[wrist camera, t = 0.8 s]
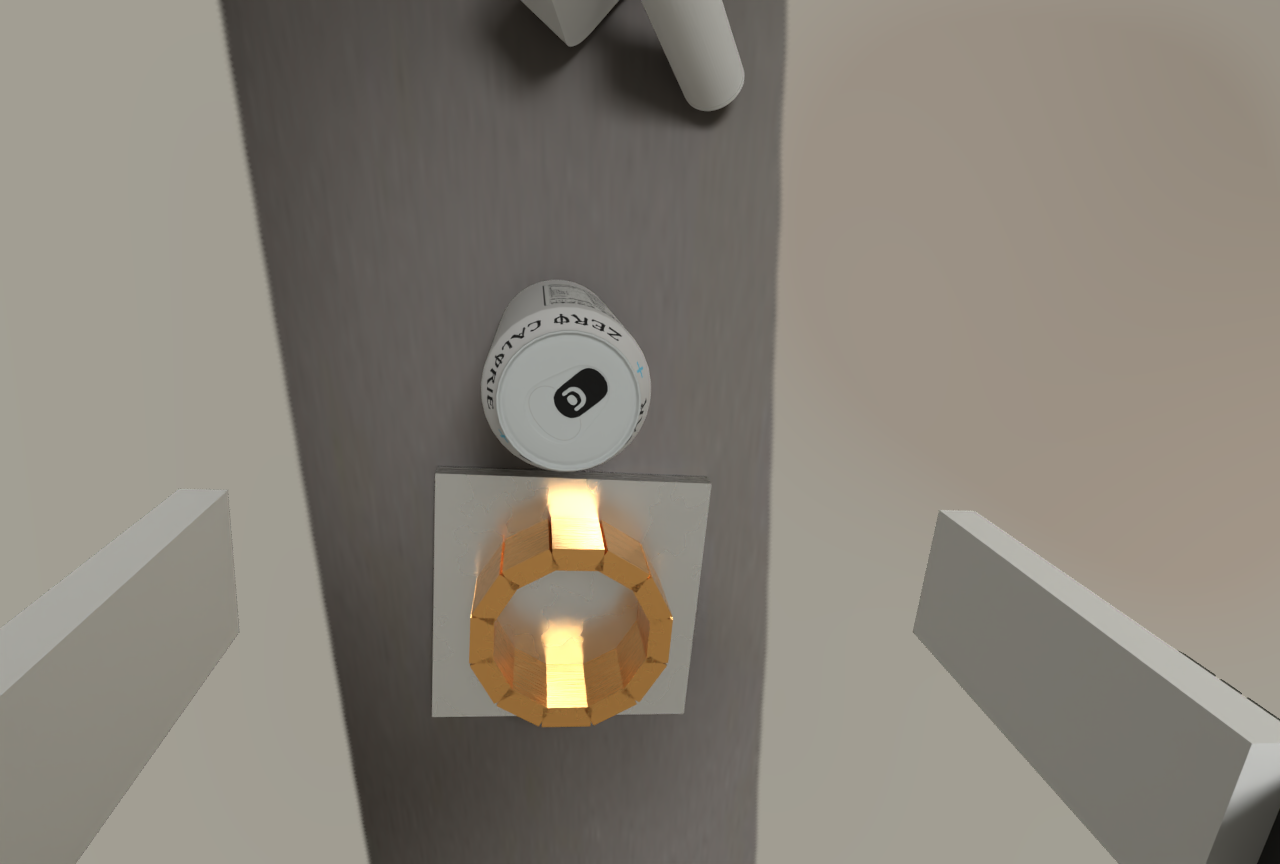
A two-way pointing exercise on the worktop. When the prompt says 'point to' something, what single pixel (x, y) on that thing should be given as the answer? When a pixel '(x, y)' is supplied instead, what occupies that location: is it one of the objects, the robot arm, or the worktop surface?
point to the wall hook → (666, 41)
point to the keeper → (564, 593)
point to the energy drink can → (564, 379)
